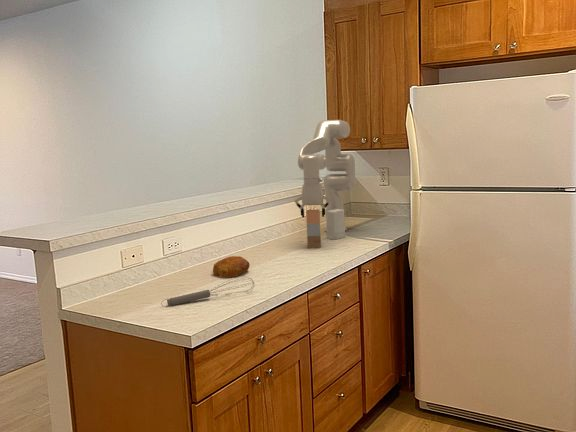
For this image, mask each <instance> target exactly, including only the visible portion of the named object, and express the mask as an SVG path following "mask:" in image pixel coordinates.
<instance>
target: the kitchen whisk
mask: <svg viewBox="0 0 576 432" xmlns="http://www.w3.org/2000/svg"><path fill="white" fill-rule="evenodd" d="M234 279H235V280H234ZM247 279H248V280H249V279H250V280H249V281H251V283H250V282H248V283H247V284H246V283H243V284H242V285H241V284H240V285H239V284H238V286H237V285H235V286H234V287H233V286H232V287H230V288H229V287H227V288H226V289H225V288H224V289H223V288H222V292H225V291H226V290H227V291H229V290H231V289H232V290H233V289H235V288H236V289H238V288H242V287H246V286H249V285H252V286H251V287H250V288H249V289H248V290H243V291H242V293H245V295H246V294H248V291H249V293H251V292H252V291H253V289H254V288H255V286H256V284H255V282H254V280H253V279H252V278H251V277H249V276H247ZM241 280H245V277H241V279H240V276H239V277H237V279H236V277H233V278H231V279H229V280H227V281H225V282H223V283H220V284H219V285H217V286H214V287H213V288H211V289H205V290H202V291H196V292H192V293H187V294H182V295H178V296H174V297H170V298H166V299H164V300H162V301H161V303H160V304H161V306H162V307H164V305H163V304H162V303H163V302H165V301H166V303H167V306H168V307H172V306H177V305H182V304H185V303H190V302H194V301H198V300H203V299H208V298H210V297H212V296H213V297H215V296H217V293H219V292H221V289H220V290H216V289H219V288H221V287H224V286H226V285H229V284H232V283H235V282H240V281H241ZM229 281H230V282H229ZM226 282H227V283H226ZM214 290H216V291H214ZM246 292H247V293H246ZM238 293H240V291H239V292H236V294H238ZM226 295H229V296H232V292H229V293H226Z"/></svg>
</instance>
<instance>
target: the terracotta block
mask: <svg viewBox="0 0 576 432" xmlns="http://www.w3.org/2000/svg"><path fill="white" fill-rule="evenodd" d="M320 212H321V210H320V209H307V210H306V212H305V213H306V214H305V215H306V216H305V217H306V225H307V224H319V223H320V224H321V217H320V216H321V215H320V214H321V213H320Z"/></svg>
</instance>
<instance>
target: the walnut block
mask: <svg viewBox="0 0 576 432" xmlns="http://www.w3.org/2000/svg"><path fill="white" fill-rule="evenodd" d="M306 236H307V235H306ZM306 240H307V249H321V245H322V243H321V242H322V241H321V235H320V236H307V237H306Z"/></svg>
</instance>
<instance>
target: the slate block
mask: <svg viewBox="0 0 576 432" xmlns="http://www.w3.org/2000/svg"><path fill="white" fill-rule="evenodd" d="M306 236H320V237H321V222H320V223H319V224H307V223H306Z"/></svg>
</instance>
